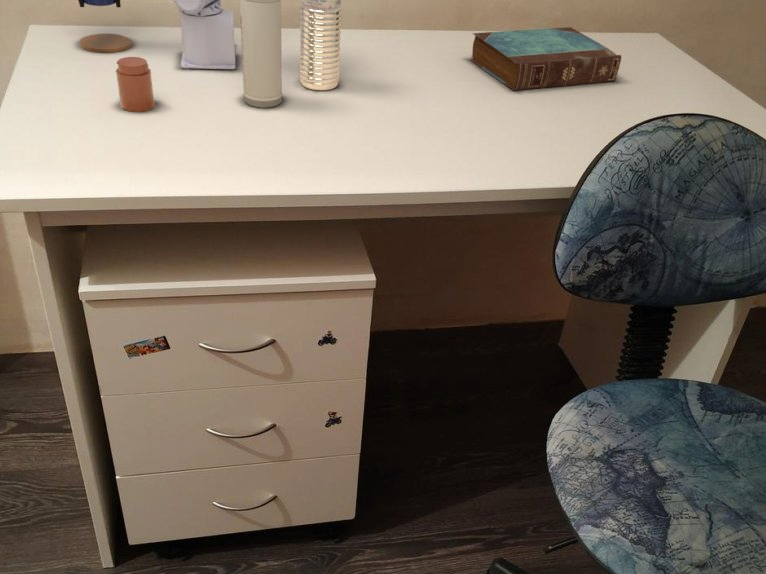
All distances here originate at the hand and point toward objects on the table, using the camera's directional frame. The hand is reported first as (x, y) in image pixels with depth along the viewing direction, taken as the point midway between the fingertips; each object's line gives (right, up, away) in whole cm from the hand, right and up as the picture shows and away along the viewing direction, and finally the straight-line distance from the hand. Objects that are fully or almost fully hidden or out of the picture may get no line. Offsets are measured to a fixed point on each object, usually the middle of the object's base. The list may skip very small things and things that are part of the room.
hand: (100, 5), depth 144 cm
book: (+82, -7, +12) cm, 83 cm away
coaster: (0, -5, +4) cm, 7 cm away
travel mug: (+31, -21, -10) cm, 39 cm away
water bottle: (+40, -15, -3) cm, 43 cm away
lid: (0, +2, -1) cm, 2 cm away
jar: (+12, -24, -16) cm, 31 cm away
